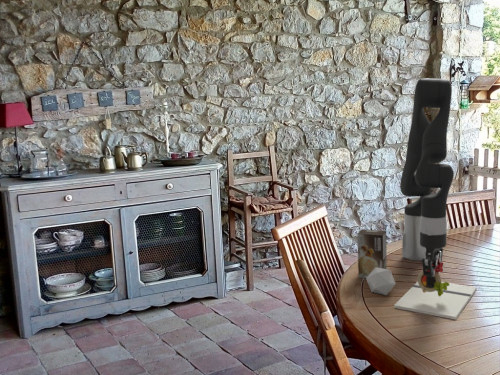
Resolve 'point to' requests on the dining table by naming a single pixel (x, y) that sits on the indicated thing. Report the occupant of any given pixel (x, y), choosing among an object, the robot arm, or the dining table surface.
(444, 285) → the bird rattle
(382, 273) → the die
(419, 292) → the mat
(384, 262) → the coffee box
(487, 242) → the dining table surface
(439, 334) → the dining table surface
